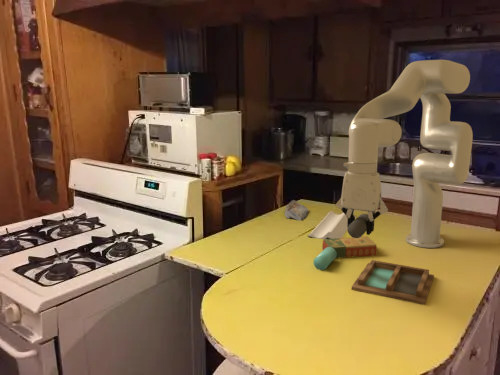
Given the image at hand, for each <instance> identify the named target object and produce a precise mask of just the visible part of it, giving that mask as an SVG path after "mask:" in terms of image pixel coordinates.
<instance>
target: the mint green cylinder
mask: <svg viewBox="0 0 500 375" xmlns="http://www.w3.org/2000/svg"><path fill="white" fill-rule="evenodd" d="M336 256H337V253H336V251H335V249H334V248H332V247H326V248H325V249H324V250H323V249H322V250H321V252H320V253H318V255H317V256H315V258H314V259H313V266H314V267H315V269H316V270H319V269H320V270H319V271H324V270H326V269H327V268H328V266H330V265H331V264H332V262H334V260H335V259H337V258H336Z"/></svg>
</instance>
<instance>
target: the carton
mask: <svg viewBox="0 0 500 375" xmlns="http://www.w3.org/2000/svg"><path fill="white" fill-rule="evenodd" d="M326 247H332V248H334V249H335V251H336V253H337V256H336V258H335V259H339V257H341V258H353V257H352V256H358V257H369V256H370V257H371V256H372V255H374V256H377V252H378V251H377V249H378V248H377V247H378V246H377V243H375V242H374V240H372V239H371V238H370V237H369V236H361V237H360V238H353V237H342V238H336V239H330V238H326V239H322V249H321V250H322V251H323V250H324V249H325V248H326Z"/></svg>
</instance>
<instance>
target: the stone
mask: <svg viewBox="0 0 500 375" xmlns="http://www.w3.org/2000/svg"><path fill="white" fill-rule="evenodd" d="M308 215H309V209H308V207H306V206H305V205H304V204H301V203H299V202H298V201H297V200H294V199H293V200H291V201H290V202H289V203H288V204H287V205H286V206H285V208H284V216H285V218H286V219H290V218H291V219H294V220H295V221H303V220H305V219H306V218H307V217H308Z"/></svg>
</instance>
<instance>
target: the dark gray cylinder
mask: <svg viewBox="0 0 500 375" xmlns="http://www.w3.org/2000/svg"><path fill="white" fill-rule="evenodd" d="M368 218H369V217H368V213H361V214H360V215H359V216H356V218H355V220H354V221H353V222H352V223H351V224H350V225H349V226H348V229H347V233H348V235H349V237H350V238H352V237H353V238H360V237H363V235H364V234H365V233H367V221H368Z"/></svg>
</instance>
